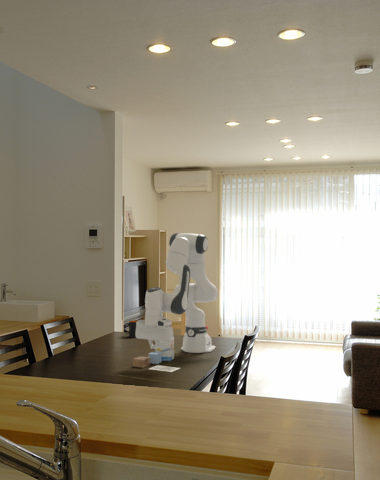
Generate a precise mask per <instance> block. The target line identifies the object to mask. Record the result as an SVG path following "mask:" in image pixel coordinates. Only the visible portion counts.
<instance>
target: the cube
mask: <svg viewBox="0 0 380 480" xmlns="http://www.w3.org/2000/svg"><path fill="white" fill-rule="evenodd" d="M147 357H150V364H152V365H153V364H154V365H159V364H161V363H162V353H160V352H155V351H151V352H148V355H147Z"/></svg>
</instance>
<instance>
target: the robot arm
mask: <svg viewBox="0 0 380 480" xmlns="http://www.w3.org/2000/svg"><path fill="white" fill-rule="evenodd" d="M168 241H169V243H168V245H169V249H168V252H167V255H166V258H165V265H166V268H167V269H168V270H169V271H170V272H172V273H173V274H175V275H177V276H178V278H179V279H178V280H179V281H178V284H176V286H175V287H174V289H173V293H168V292H164V291H163V290H162V287H159V286H153V287H149V288H148V289H146V292H145V298H144V303H145V304H144V306H145V307H144V308H145V314H144V319H138V321H139V322H138V321H137V322H136V332H135V336H136V337H135V338H136V339H139V340H147V341H148V344H149V346H150V350H156V349H157V345H158V344H159V341H165V342H170V341H172V340H173V337H174V328H173V326H172V324H173V321H172V320H171V319H168V318H166V317H165V316H164V313H169V314H175V315H178V316H179V315H183V314H185V327H184V328H185V331H184V332H185V333H184V335H183V338H182V346H181V348H180V350H182V352H186V353H195V354H197V353H198V354H199V353H201V354H202V353H210V352H212V351H214V350H215V349H216V348H217V347H216V346H215V345H213V344H212V343H213V342H212V341H213V340H212V337H211V336H210V335H209V334H208V332H207V330H208V329H209V326H208V325H206V314H205V311H204V310H203V309H201V308H199V307H197V306H196V305H195V303H211V302H215V301H216V300H217V298H218V296H219V291H218V288H217V286H216V285H215V284H213V283H212V282H211V281H210V280H209V278H208V276H207V273H206V264H205V260H206V258H205V253H206V251H208V247H209V239H208V237H207V236H206V235H205V234H202V233H201V234H198V233H193V232H189V233H188V232H187V233H186V232H183V233H181V232H177V233H173V234H171V236H170V237H169V239H168ZM191 279H192V280H193V281H195V283H190V280H191ZM153 342H154V343H155V344H154V343H153Z"/></svg>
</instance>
